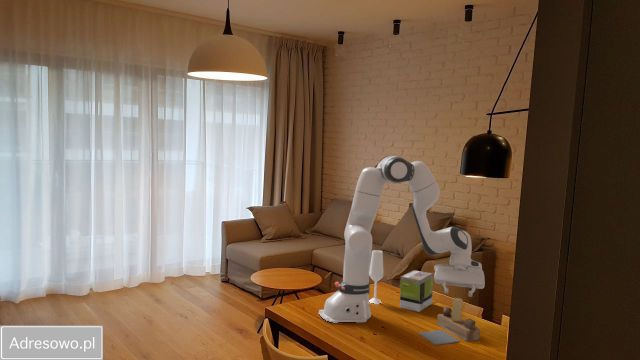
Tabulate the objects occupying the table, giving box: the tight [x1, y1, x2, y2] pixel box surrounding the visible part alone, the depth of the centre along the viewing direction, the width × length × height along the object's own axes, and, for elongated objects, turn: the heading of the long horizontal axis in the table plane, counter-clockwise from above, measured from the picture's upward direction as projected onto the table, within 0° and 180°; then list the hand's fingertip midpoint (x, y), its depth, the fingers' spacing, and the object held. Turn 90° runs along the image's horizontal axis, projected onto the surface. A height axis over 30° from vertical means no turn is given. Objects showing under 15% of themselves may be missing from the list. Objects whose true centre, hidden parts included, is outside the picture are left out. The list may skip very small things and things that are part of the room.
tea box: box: [399, 269, 434, 313], centre depth 212 cm, size 15×10×15 cm
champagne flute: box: [369, 249, 384, 305], centre depth 215 cm, size 7×7×24 cm
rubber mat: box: [418, 329, 461, 346], centre depth 176 cm, size 11×11×1 cm
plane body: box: [436, 306, 481, 342], centre depth 183 cm, size 7×18×7 cm, turn 22°
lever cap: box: [451, 297, 463, 323], centre depth 184 cm, size 4×4×8 cm
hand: (458, 294), depth 188 cm, fingers open, 8 cm apart
